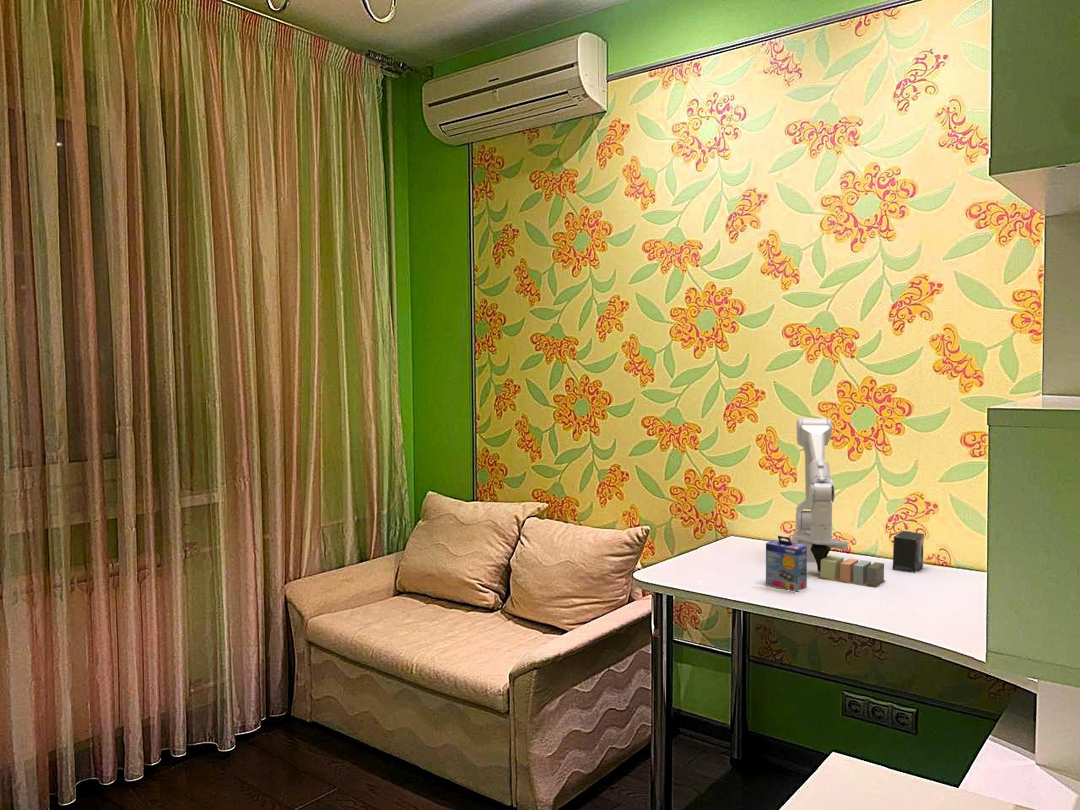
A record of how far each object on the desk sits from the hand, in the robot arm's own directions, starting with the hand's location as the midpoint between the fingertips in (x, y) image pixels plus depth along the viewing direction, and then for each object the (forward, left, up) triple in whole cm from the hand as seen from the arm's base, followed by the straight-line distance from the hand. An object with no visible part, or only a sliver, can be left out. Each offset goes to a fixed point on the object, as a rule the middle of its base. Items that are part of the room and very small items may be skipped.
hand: (820, 571), depth 237 cm
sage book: (+3, 0, -1) cm, 3 cm away
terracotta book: (+8, 0, -1) cm, 8 cm away
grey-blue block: (+12, 0, -1) cm, 12 cm away
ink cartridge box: (-3, -17, -2) cm, 17 cm away
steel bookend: (+15, 0, -1) cm, 15 cm away
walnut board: (+9, 0, -2) cm, 9 cm away
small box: (+18, +23, -2) cm, 29 cm away
